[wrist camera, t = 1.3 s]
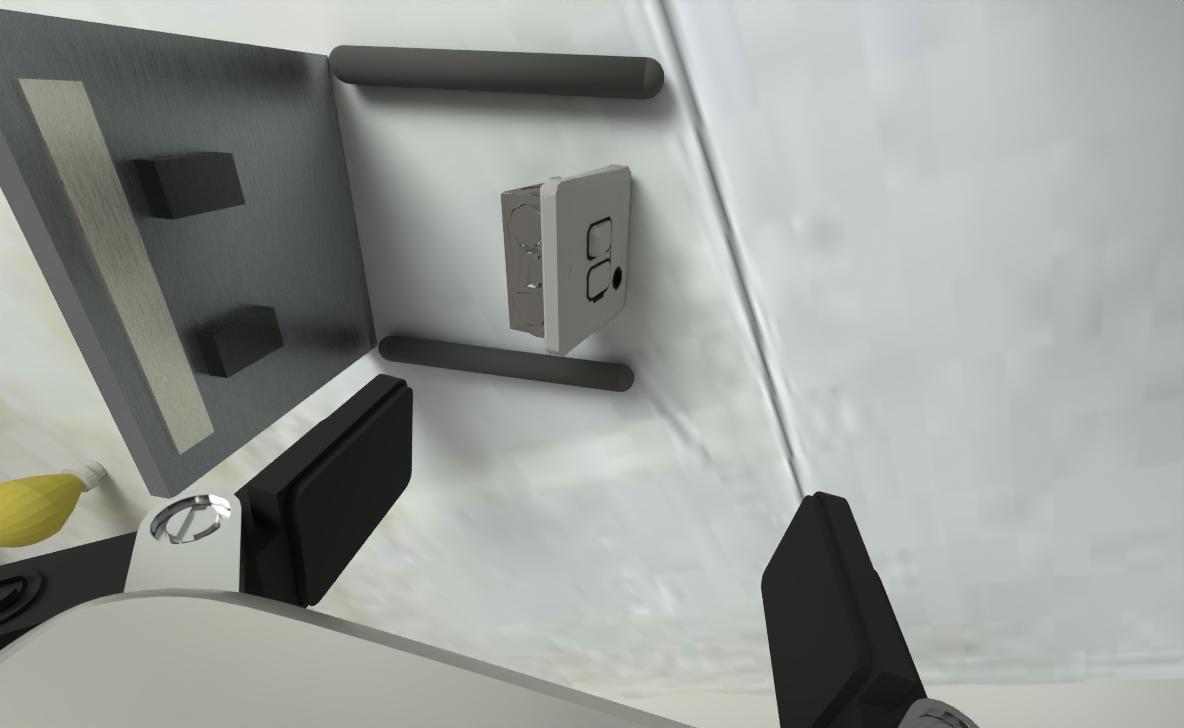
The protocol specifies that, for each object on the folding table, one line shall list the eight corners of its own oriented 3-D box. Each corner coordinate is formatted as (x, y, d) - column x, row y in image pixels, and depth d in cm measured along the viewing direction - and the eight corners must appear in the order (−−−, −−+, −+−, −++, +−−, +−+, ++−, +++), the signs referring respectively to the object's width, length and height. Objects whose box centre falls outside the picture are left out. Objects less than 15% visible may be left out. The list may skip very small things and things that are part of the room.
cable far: (636, 361, 36) (633, 374, 35) (634, 385, 37) (631, 398, 36) (385, 330, 39) (371, 340, 37) (389, 352, 40) (375, 363, 38)
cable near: (667, 59, 28) (665, 56, 26) (662, 100, 28) (660, 99, 27) (339, 46, 30) (318, 42, 29) (346, 83, 31) (325, 82, 30)
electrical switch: (626, 306, 35) (589, 365, 27) (556, 298, 36) (501, 352, 28) (633, 163, 30) (591, 182, 22) (554, 160, 32) (487, 176, 24)
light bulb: (93, 438, 52) (-27, 505, 43) (136, 487, 55) (30, 559, 46) (55, 448, 54) (-68, 514, 46) (98, 495, 57) (-11, 565, 48)
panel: (341, 56, 31) (-33, 1, 15) (388, 347, 40) (189, 502, 24) (269, 52, 31) (-162, -3, 16) (332, 339, 41) (102, 486, 25)
